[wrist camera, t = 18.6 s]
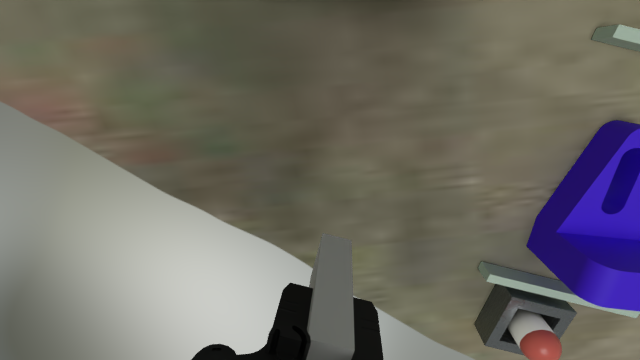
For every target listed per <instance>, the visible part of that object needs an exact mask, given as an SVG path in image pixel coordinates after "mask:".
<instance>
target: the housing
mask: <svg viewBox="0 0 640 360" xmlns="http://www.w3.org/2000/svg"><path fill="white" fill-rule="evenodd" d="M518 308H519V309H523V310H527V311H531V312H535V313H539V314H540V315H541V316H542V318H543V319H544V320H545V322H546V323H547V324H548V325H549V327H550V328H551V329H552V331H553V332H554V333H555V334H556V336H557V337H558V339H560V337H561V336H562V335H563V333H564V332H565V330H566V329H567V327H568V326H569V324H570V323H571V321H572V320H573V318H574V317H575V315H576V314H577V313H576V311H575V310H574V309H573V308H572V307H571V306H570V305H569V304H568V303H567V302H566V301H564V300H560V299H556V298H552V297H548V296H544V295H540V294H536V293H532V292H527V291H523V290H519V289H515V288H511V287H507V286H503V285H499V284H495V286H494V288H493V290H492V292H491V294H490V296H489V298H488V299H487V301H486V303H485V305H484V307H483V309H482V311H481V313H480V314H479V316H478V318H477V320H476V322H475V324H474V325H475V327H476V329H477V331H478V333H479V335H480V337H481V339H482V341H483V343H484V345H485V346H488V347H492V348H496V349H501V350H505V351H509V352H513V353H517V354H521V355H524V354H523V353H522V351H521V350H520V348H519V346H518V345H517V343H516V341H515V340H514V338H513V337H512V335H511V333H510V332H509V330H508V328H507V326H508V325H509V323H510V321H511V320H512V318H513V316H514V314H515V313H516V311H517V309H518Z"/></svg>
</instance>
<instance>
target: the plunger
mask: <svg viewBox="0 0 640 360" xmlns="http://www.w3.org/2000/svg"><path fill="white" fill-rule="evenodd" d="M507 328H508V330H509V332H510V333H511V335H512V337H513V338H514V340H515V341H516V343H517V345H518V346H519V348H520V350H521V351H522V353H523V354H524V355H525V356H526V357H527V358H528V359H530V360H558V359H559V358H560V356H561V353H562V347H561V343H560V341H559V339H558V337H557V336H556V334H555V333H554V332H553V331H552V329H551V328H550V327H549V325H548V324H547V323H546V322H545V320H544V319H543V318H542V316H541V315H540V314H539V313H535V312H531V311H527V310H523V309H519V308H518V309H517V311H516V313H515V314H514V316H513V318H512V320H511V321H510V323H509V325H508V326H507Z"/></svg>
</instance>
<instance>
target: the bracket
mask: <svg viewBox="0 0 640 360" xmlns="http://www.w3.org/2000/svg"><path fill="white" fill-rule="evenodd" d="M527 247H528V248H529V249H530V250H531V251H532V252H533V253H534V254H535V255H536V256H537V257H538V258H539V259H540V260H541V261H542V262H543V263H544V264H545V265H546V266H547V267H548V268H549V269H550V270H551V271H552V272H553V273H554V274H555V275H556V276H557V277H558V278H559V279H560V280H561V281H562V282H563V283H564V284H565V285H566V286H567V287H568V288H569V289H570V290H571V291H572V292H573V293H574V294H575V295H577V296H578V297H580V298H581V299H583V300H585V301H587V302H589V303H592V304H594V305H597V306H600V307H605V308H612V309H621V310H631V311H640V125H639V124H634V123H629V122H624V121H619V120H615V121H610V122H608V123H606V124H604V125H603V126H602V127H601V128H600V129H599V130H598V132H597V133H596V134H595V136H594V137H593V139H592V140H591V141H590V143H589V144H588V146H587V147H586V148H585V150H584V151H583V153H582V154H581V155H580V157H579V158H578V160H577V161H576V162H575V164H574V165H573V167H572V168H571V169H570V171H569V172H568V174H567V175H566V176H565V178H564V179H563V181H562V182H561V183H560V185H559V186H558V188H557V189H556V190H555V192H554V193H553V195H552V196H551V197H550V199H549V200H548V202H547V203H546V204H545V206H544V207H543V209H542V210H541V211H540V213H539V214H538V216H537V217H536V220H535V223H534V226H533V229H532V232H531V235H530V237H529V240H528V243H527Z"/></svg>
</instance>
